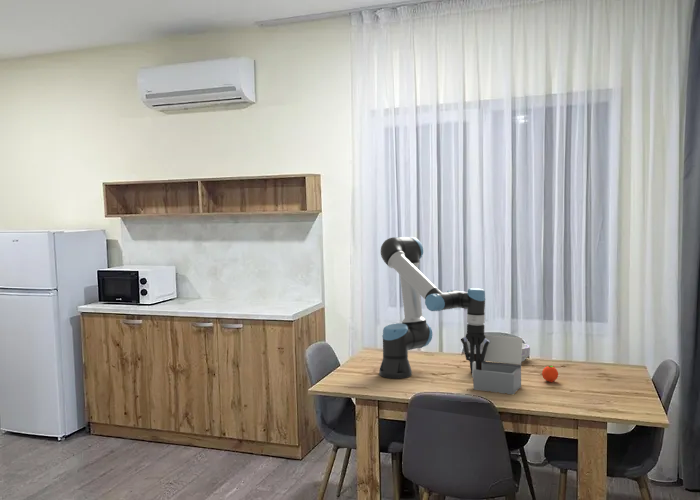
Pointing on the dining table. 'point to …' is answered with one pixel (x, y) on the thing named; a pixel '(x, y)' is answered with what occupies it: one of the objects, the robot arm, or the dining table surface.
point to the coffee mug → (475, 359)
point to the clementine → (550, 373)
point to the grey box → (497, 377)
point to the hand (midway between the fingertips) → (474, 376)
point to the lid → (503, 349)
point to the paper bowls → (525, 351)
